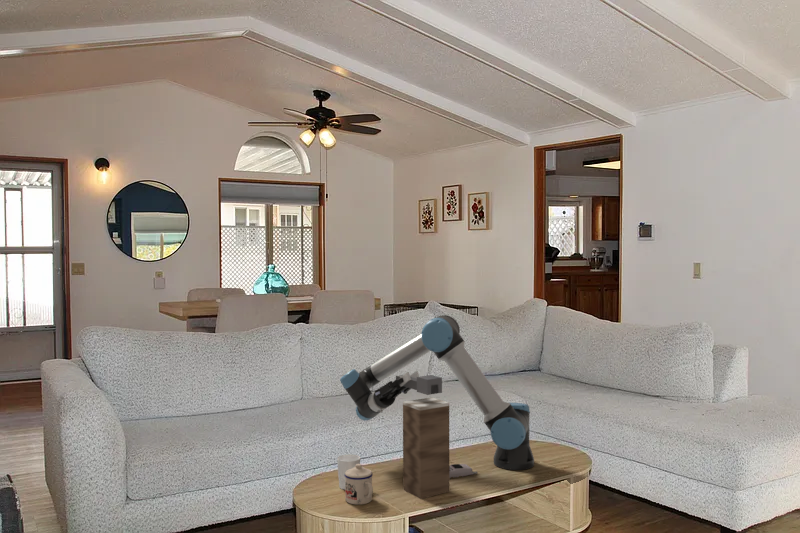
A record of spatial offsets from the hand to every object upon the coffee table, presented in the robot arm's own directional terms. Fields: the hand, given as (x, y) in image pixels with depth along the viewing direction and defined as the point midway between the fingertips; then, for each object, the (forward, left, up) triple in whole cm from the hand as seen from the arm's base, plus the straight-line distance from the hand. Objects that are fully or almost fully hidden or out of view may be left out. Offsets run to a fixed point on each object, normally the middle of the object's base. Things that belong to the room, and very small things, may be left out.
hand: (413, 375), depth 239 cm
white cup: (+22, 0, -38) cm, 44 cm away
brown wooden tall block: (-4, +6, -38) cm, 39 cm away
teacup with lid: (+18, +14, -38) cm, 45 cm away
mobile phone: (-11, -8, -38) cm, 41 cm away
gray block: (-1, +2, -4) cm, 5 cm away
